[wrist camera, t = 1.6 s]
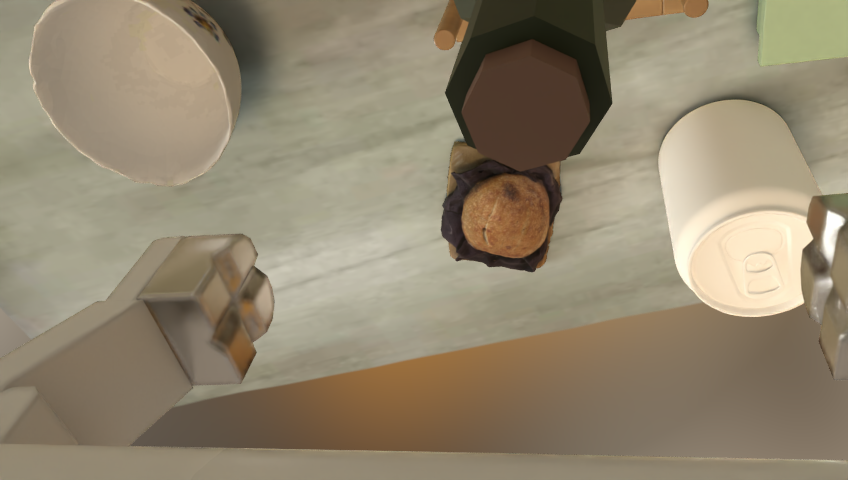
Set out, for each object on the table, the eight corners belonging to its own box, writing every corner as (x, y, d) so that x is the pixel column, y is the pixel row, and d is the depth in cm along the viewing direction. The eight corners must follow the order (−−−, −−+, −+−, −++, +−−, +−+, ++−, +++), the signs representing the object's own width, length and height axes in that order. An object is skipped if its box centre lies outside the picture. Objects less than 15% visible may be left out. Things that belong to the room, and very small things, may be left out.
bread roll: (447, 135, 49) (439, 162, 46) (569, 149, 47) (569, 177, 45) (441, 254, 55) (434, 284, 52) (549, 268, 54) (547, 300, 51)
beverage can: (780, 77, 42) (839, 184, 33) (797, 185, 46) (854, 308, 37) (644, 116, 45) (662, 224, 36) (671, 214, 49) (694, 334, 40)
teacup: (308, 96, 48) (268, 153, 42) (173, 150, 53) (120, 209, 47) (178, -124, 41) (106, -93, 35) (35, -38, 46) (-50, 2, 40)
